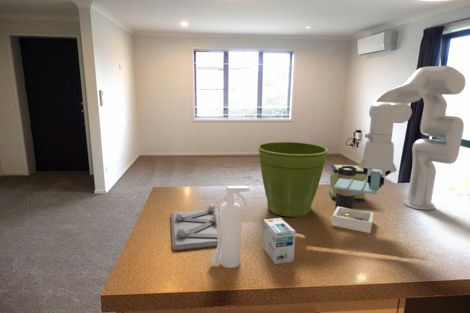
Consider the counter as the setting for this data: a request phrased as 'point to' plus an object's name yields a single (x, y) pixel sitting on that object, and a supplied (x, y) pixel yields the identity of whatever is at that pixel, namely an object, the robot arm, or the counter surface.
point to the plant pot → (291, 175)
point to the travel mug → (345, 196)
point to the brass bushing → (348, 215)
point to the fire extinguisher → (229, 228)
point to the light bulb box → (279, 240)
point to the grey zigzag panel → (194, 229)
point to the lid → (360, 184)
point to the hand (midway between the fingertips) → (375, 185)
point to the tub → (353, 219)
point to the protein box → (334, 175)
